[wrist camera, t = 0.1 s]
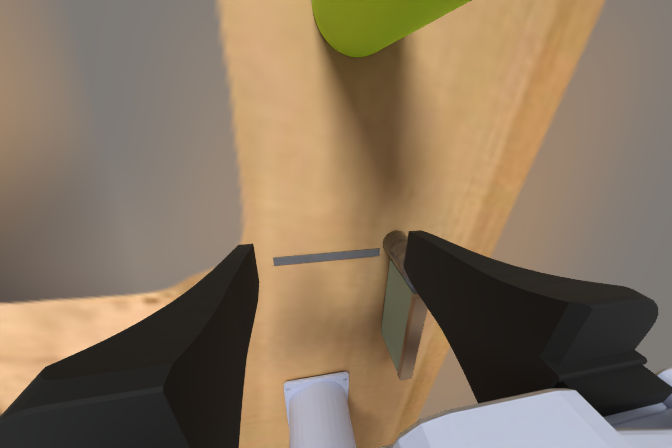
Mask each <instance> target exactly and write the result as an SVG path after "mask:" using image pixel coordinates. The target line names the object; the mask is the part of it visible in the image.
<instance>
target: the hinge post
mask: <svg viewBox="0 0 672 448" xmlns="http://www.w3.org/2000/svg"><path fill="white" fill-rule="evenodd" d="M407 240H408V237H407V236H406V235H405V234H404V233H403V232H401V231H393V232H390V233H389V234H388V235H387V236H386V237H385V238H384V241H383V247H384V249H385V250H386V252H387V253H388V255H389V256H390V258H391V259H392V261H393V262H394V264H395V265H396V267H397V268H398V270H399V271H400V272H401V274H402V275H403V277H404V278H405V280H406V281H407V283H408V284H409V286H410V287H411V289H412V290H413V291H414V292H416V290H415V289H414V287H413V285H412V284H411V282H410V280H409V278H408V276H407V274H406V271H405V269H404V267H403V266H404V260H405V253H406V247H407ZM416 293H417V292H416Z"/></svg>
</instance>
